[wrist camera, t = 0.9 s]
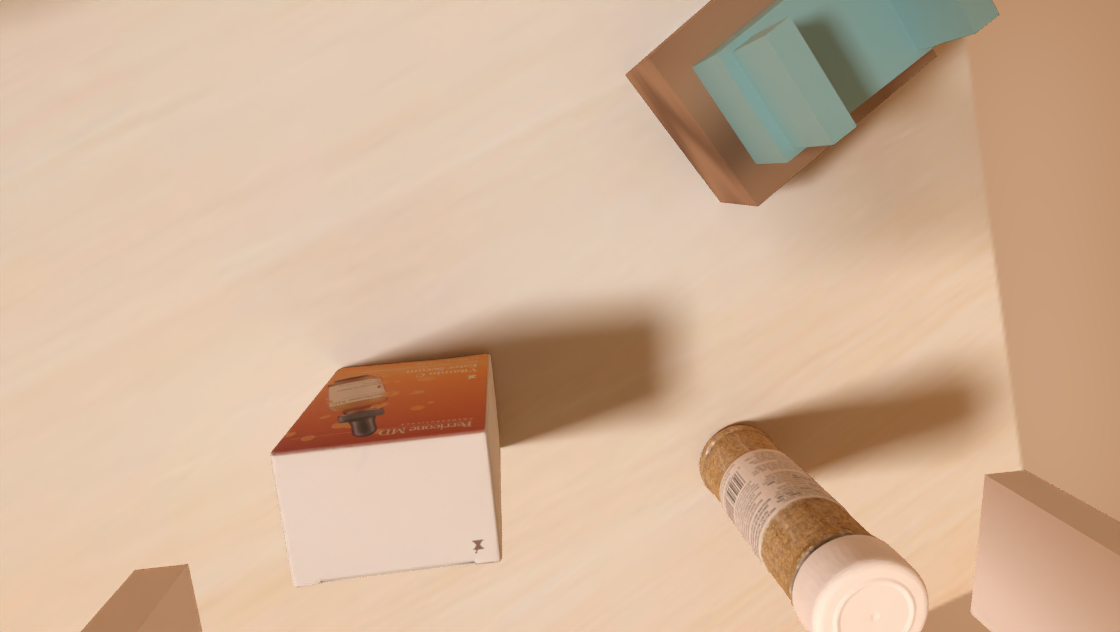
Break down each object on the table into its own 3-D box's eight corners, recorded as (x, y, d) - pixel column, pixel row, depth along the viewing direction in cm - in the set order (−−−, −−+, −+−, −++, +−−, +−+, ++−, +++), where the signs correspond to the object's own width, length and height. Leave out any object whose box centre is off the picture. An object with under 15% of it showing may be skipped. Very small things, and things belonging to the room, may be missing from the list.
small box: (491, 351, 33) (493, 428, 23) (501, 450, 35) (506, 565, 24) (334, 366, 33) (264, 452, 22) (349, 466, 34) (290, 592, 24)
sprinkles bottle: (751, 506, 37) (895, 687, 24) (682, 479, 36) (793, 652, 23) (788, 438, 36) (957, 585, 23) (719, 409, 35) (854, 545, 22)
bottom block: (624, 75, 31) (648, 57, 26) (783, -63, 31) (838, -107, 26) (718, 201, 33) (758, 206, 28) (869, 73, 33) (936, 55, 28)
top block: (691, 67, 27) (748, 37, 21) (845, -57, 26) (946, -122, 21) (756, 164, 28) (826, 161, 22) (904, 47, 28) (1015, 12, 22)
